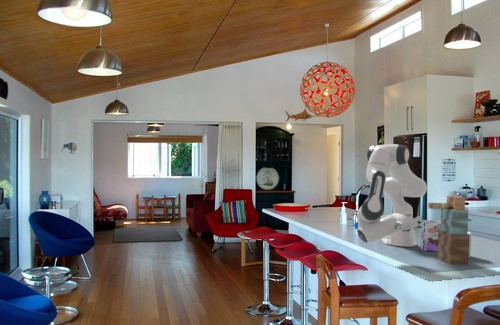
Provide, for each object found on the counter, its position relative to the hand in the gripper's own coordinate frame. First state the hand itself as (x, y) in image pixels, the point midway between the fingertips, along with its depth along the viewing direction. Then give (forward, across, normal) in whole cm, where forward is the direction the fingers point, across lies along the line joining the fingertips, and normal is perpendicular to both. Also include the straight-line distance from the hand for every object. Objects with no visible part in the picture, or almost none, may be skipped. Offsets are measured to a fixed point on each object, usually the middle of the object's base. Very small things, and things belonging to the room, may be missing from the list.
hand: (415, 215), depth 236 cm
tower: (+11, -3, +28) cm, 30 cm away
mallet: (+15, -1, +1) cm, 15 cm away
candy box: (+16, +23, +31) cm, 42 cm away
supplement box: (+23, +8, +33) cm, 41 cm away
